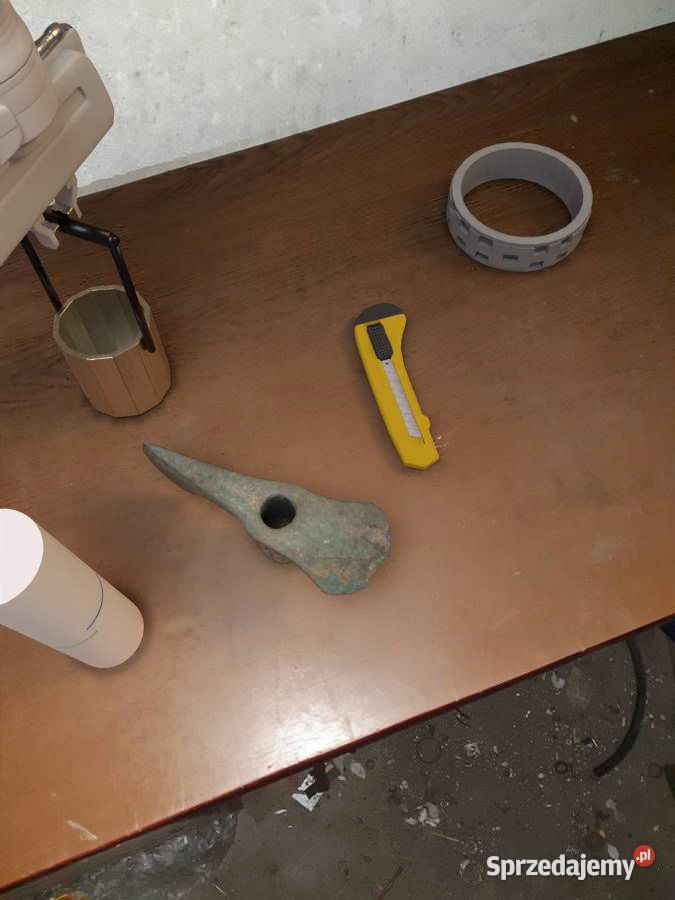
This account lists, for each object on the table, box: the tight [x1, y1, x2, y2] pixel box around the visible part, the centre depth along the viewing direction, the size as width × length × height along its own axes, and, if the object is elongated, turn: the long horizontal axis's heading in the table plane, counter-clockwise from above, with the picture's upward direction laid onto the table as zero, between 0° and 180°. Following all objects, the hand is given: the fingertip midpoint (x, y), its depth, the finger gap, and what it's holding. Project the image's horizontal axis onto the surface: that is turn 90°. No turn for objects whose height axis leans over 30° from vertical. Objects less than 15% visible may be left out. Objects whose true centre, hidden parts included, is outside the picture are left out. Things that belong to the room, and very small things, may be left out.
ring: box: [445, 141, 594, 273], centre depth 90 cm, size 18×18×5 cm
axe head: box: [142, 442, 392, 596], centre depth 69 cm, size 27×10×10 cm, turn 63°
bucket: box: [19, 209, 172, 418], centre depth 72 cm, size 25×12×10 cm
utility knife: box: [354, 302, 440, 471], centre depth 81 cm, size 7×22×2 cm, turn 16°
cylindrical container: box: [0, 508, 145, 669], centre depth 59 cm, size 7×7×25 cm
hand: (62, 231), depth 62 cm, fingers closed on bucket
